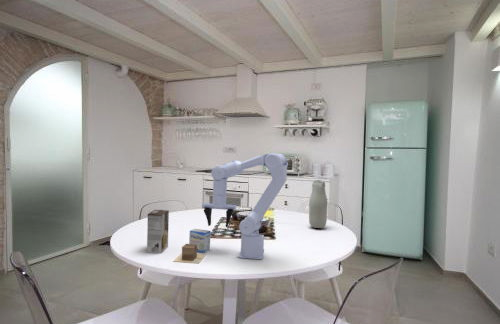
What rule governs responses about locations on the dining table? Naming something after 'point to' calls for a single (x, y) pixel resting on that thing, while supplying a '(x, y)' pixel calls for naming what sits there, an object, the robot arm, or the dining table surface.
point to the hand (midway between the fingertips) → (218, 225)
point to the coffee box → (157, 231)
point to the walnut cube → (189, 252)
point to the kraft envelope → (196, 260)
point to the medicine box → (200, 239)
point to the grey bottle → (318, 205)
